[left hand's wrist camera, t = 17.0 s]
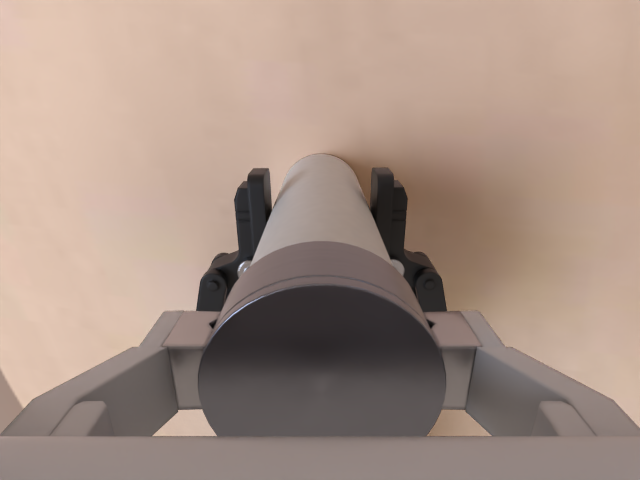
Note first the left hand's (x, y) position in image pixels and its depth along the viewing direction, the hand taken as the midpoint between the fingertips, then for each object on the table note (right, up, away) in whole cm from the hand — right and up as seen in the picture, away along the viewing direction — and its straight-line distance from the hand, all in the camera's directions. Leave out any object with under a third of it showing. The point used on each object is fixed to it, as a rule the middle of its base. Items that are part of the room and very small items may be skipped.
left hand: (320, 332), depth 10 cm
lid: (0, -1, -2) cm, 2 cm away
